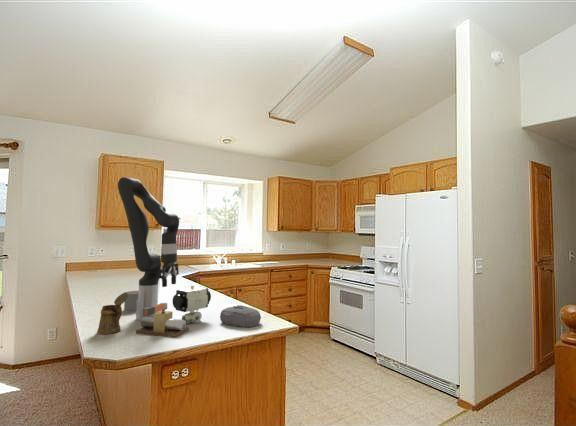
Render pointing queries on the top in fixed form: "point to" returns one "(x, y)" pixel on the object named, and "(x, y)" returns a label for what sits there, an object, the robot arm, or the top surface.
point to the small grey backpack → (240, 316)
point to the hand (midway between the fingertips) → (169, 285)
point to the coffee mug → (131, 301)
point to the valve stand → (162, 325)
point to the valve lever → (154, 309)
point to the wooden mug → (111, 316)
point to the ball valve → (191, 302)
